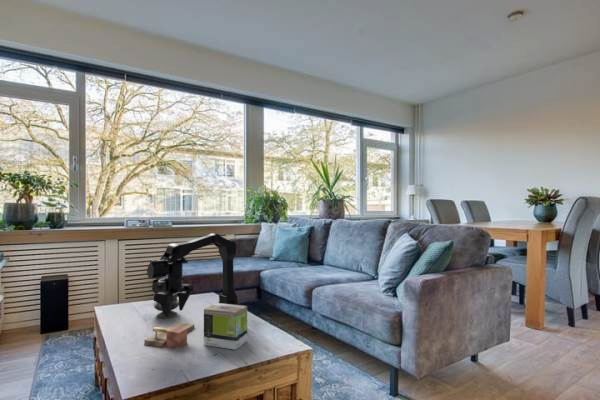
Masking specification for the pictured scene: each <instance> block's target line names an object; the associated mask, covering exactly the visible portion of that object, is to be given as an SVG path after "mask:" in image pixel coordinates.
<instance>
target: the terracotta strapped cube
mask: <svg viewBox="0 0 600 400" xmlns="http://www.w3.org/2000/svg"><path fill="white" fill-rule="evenodd" d="M152 332H155V334H154V335H155V337H157V333H158V332H162V333H166V346H165V347H171V348H178V349H179V348H181V347H183V346H184V345H186V344H187V343H188V332H187V328H181V327H173V328H171V329H168V327H166V328H165V327H158V326H154V327H152Z"/></svg>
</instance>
